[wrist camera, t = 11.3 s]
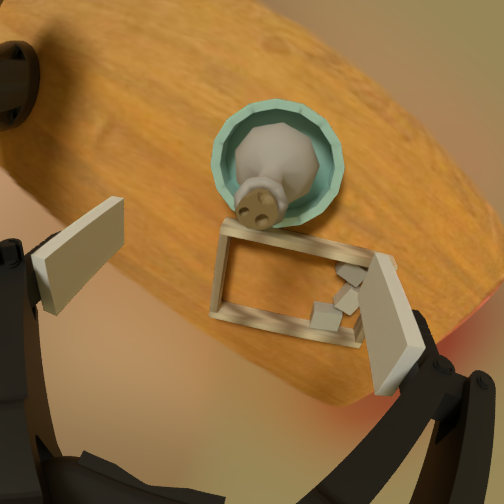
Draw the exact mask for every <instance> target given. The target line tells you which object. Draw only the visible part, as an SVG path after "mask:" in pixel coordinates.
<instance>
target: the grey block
mask: <svg viewBox="0 0 504 504" xmlns="http://www.w3.org/2000/svg"><path fill="white" fill-rule="evenodd" d="M342 316H343V313H342V311H341V310H339V309H338V308H336V307H334V304H330V303H323V302H317V301H314V303H313V307H312V311H311V315H310V328H314V329H321V330H328V331H336V332H337V331H338V328H339V325H340V322H341V319H342Z"/></svg>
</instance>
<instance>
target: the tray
mask: <svg viewBox="0 0 504 504" xmlns="http://www.w3.org/2000/svg"><path fill="white" fill-rule="evenodd" d="M231 236H232V237H237V238H241V239H245V240H250V241H254V242H259V243H263V244H268V245H272V246H277V247H281V248H286V249H290V250H294V251H299V252H303V253H308V254H312V255H316V256H321V257H325V258H329V259H334V260H338V261H342V262H347V263H351V264H355V265H360V266H364V267H368V268H369V266H370V263H371V261H372V258H373V256H374V253H375V252H376V253H380V254H384V255H388V256H389V258H390V260H391V263H392V265H393V267H394V269H395V272H396V270H397V268H398V266H397V264H396V262H395V260H394V258H393V256H392V255H389V254H385V253H381V252H377V251H373V250H369V249H365V248H360V247H356V246H352V245H348V244H344V243H340V242H336V241H331V240H327V239H323V238H319V237H314V236H310V235H306V234H301V233H297V232H293V231H288V230H284V229H279V228H274V227H271V228H269V229H267V230H264V229H262V230H256V229H248V228H246V227H245V226H244V225H242V224H241V223H240V222H238V219H234V218H229V217H226V218H225V220H224V221H223V223H222V225H221V227H220V234H219V242H218V249H217V256H216V264H215V271H214V279H213V287H212V295H211V303H210V311H209V317H212V318H216V319H220V320H224V321H228V322H232V323H236V324H241V325H245V326H249V327H254V328H258V329H263V330H267V331H272V332H276V333H281V334H286V335H290V336H295V337H300V338H305V339H310V340H315V341H321V342H326V343H331V344H337V345H342V346H348V347H354V348H360V346H361V344H362V342H363V340H364V338H365V332H364V327H363V322H362V317H361V313H360V316H359V318H358V320H357V322H356V324H355V326H354V329H351V328H346V327H341V326H339V328H338V331H337V332H336V331H328V330H321V329H314V328H310V320H306V319H301V318H296V317H292V316H287V315H282V314H278V313H273V312H269V311H264V310H260V309H255V308H251V307H247V306H242V305H238V304H234V303H230V302H225V301H221V300H222V293H223V286H224V280H225V273H226V266H227V260H228V254H229V247H230V241H231Z"/></svg>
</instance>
